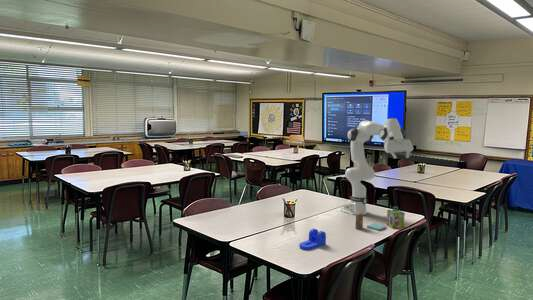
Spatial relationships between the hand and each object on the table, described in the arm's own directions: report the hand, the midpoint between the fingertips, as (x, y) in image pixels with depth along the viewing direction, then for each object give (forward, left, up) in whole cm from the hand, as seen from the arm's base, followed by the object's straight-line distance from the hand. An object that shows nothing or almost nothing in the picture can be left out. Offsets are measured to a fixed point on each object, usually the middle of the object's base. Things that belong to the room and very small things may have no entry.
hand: (401, 157), depth 240 cm
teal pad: (-17, +1, -53) cm, 56 cm away
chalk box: (-9, +15, -54) cm, 56 cm away
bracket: (-26, -63, -54) cm, 87 cm away
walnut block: (-25, -9, -53) cm, 60 cm away
